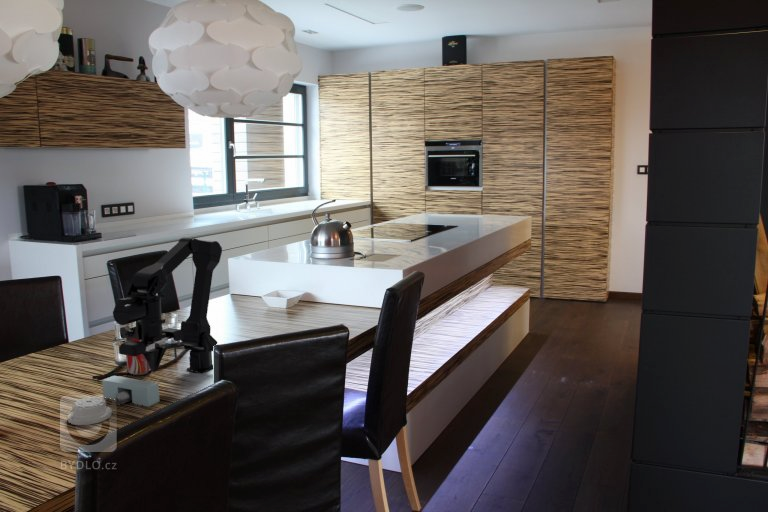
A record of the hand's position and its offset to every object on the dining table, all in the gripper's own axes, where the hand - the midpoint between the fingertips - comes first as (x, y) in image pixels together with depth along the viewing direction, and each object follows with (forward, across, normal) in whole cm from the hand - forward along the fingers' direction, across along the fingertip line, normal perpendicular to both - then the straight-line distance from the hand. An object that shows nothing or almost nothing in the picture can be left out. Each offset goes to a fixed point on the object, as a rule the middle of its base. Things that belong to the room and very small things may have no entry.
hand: (154, 371), depth 184 cm
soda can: (+5, -9, -15) cm, 18 cm away
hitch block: (+5, +9, 0) cm, 10 cm away
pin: (+5, +9, 0) cm, 10 cm away
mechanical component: (+6, +22, 0) cm, 23 cm away
